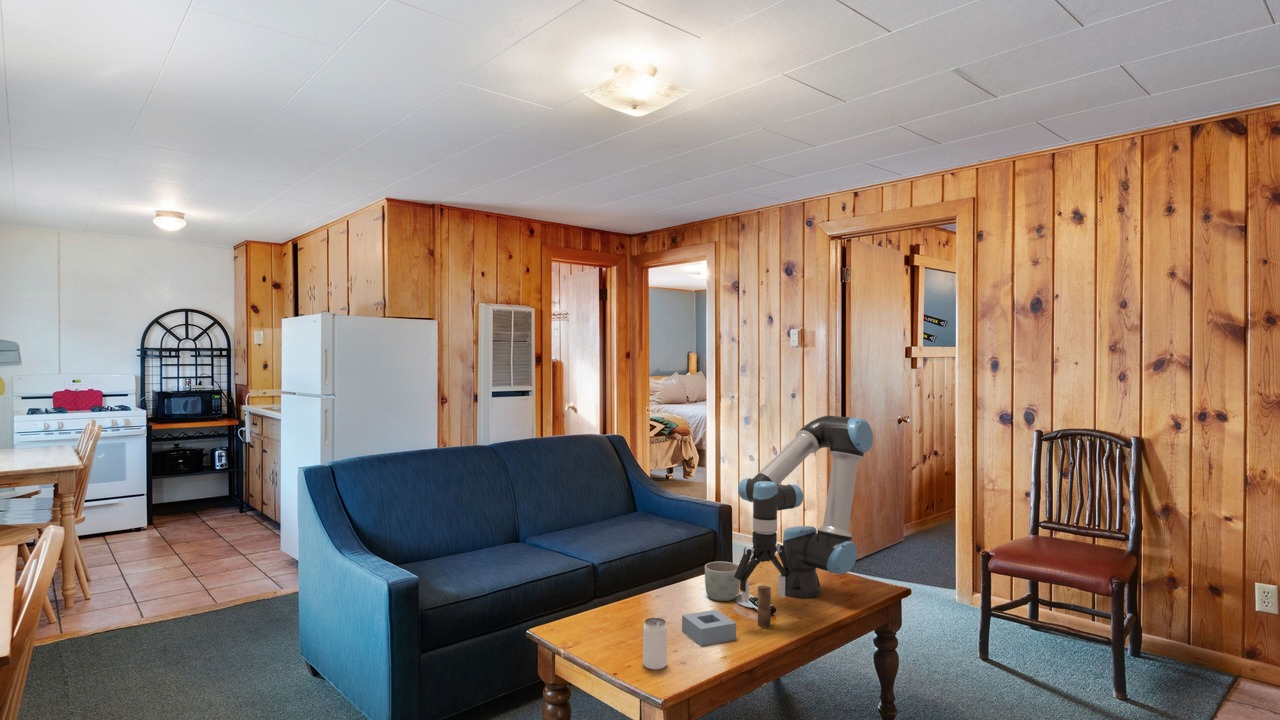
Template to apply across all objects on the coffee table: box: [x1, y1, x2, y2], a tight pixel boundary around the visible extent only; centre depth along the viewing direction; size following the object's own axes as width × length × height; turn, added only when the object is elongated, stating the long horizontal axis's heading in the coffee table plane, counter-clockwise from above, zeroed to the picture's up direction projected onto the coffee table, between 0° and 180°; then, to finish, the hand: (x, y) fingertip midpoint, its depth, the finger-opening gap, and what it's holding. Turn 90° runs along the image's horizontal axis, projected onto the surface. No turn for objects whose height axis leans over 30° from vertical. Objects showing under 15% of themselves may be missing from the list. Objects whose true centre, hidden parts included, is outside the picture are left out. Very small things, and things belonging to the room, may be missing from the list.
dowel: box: [757, 585, 772, 629], centre depth 216 cm, size 4×4×12 cm
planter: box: [704, 560, 740, 602], centre depth 242 cm, size 12×12×11 cm
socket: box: [681, 609, 737, 647], centre depth 208 cm, size 12×12×5 cm
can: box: [642, 617, 668, 671], centre depth 188 cm, size 6×6×12 cm
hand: (763, 598), depth 216 cm, fingers open, 13 cm apart
